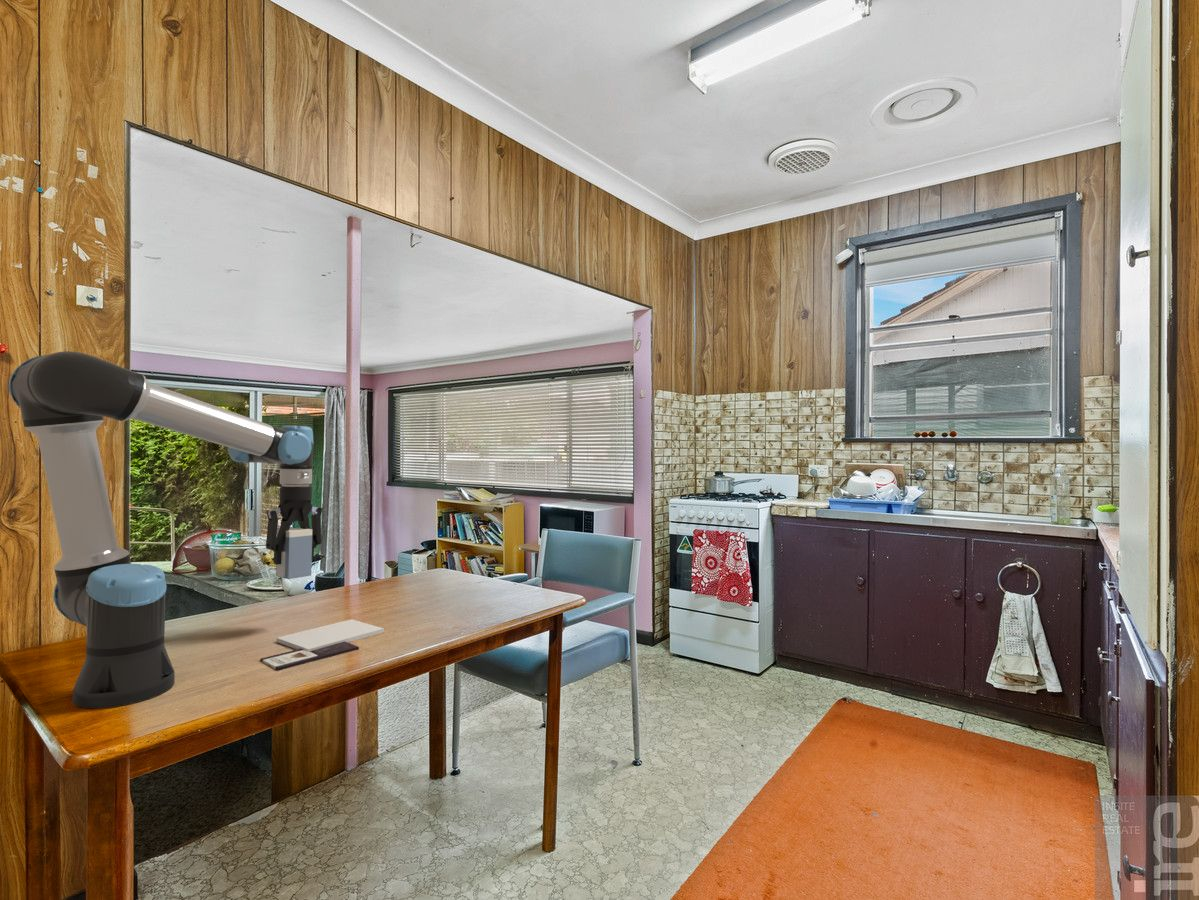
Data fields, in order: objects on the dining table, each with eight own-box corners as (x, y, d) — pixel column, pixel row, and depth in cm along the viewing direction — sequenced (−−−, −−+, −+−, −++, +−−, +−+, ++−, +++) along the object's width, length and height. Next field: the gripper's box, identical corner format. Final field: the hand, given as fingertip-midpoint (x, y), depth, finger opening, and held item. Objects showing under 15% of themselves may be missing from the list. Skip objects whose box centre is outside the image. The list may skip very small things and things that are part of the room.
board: (308, 653, 135) (308, 649, 135) (276, 641, 143) (276, 637, 143) (383, 632, 152) (384, 628, 152) (351, 622, 160) (351, 619, 160)
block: (288, 579, 149) (289, 531, 150) (275, 576, 153) (277, 529, 153) (311, 575, 154) (312, 529, 155) (298, 572, 158) (299, 527, 158)
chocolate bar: (358, 646, 139) (278, 668, 125) (358, 651, 139) (278, 672, 125) (339, 639, 144) (260, 658, 130) (339, 643, 144) (260, 662, 130)
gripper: (265, 487, 144) (263, 582, 144) (338, 485, 160) (336, 571, 159) (250, 485, 148) (248, 578, 148) (322, 483, 164) (320, 567, 164)
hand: (293, 574), depth 154 cm, fingers closed on block, 6 cm apart
